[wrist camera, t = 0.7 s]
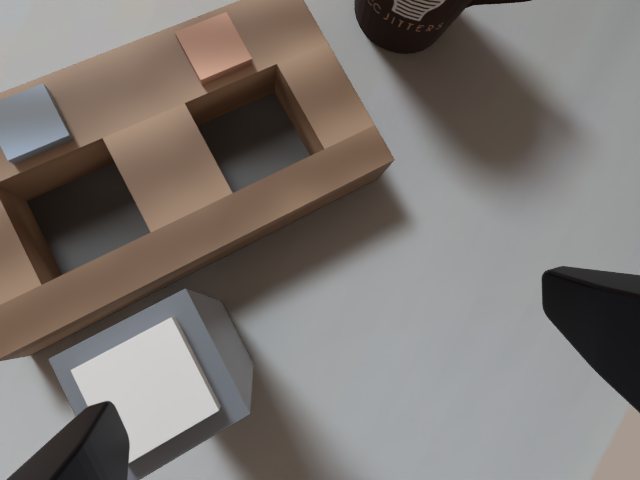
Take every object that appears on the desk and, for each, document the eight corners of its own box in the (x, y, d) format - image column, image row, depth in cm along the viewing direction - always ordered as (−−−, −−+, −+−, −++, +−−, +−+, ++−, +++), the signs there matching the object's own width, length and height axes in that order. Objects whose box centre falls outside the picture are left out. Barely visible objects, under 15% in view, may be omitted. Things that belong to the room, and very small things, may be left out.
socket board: (378, 178, 28) (397, 155, 24) (30, 355, 24) (-17, 364, 20) (288, 19, 29) (292, -28, 25) (-63, 161, 25) (-125, 132, 21)
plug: (253, 363, 25) (249, 418, 12) (188, 400, 24) (105, 504, 11) (221, 301, 25) (182, 286, 12) (155, 336, 25) (37, 361, 11)
